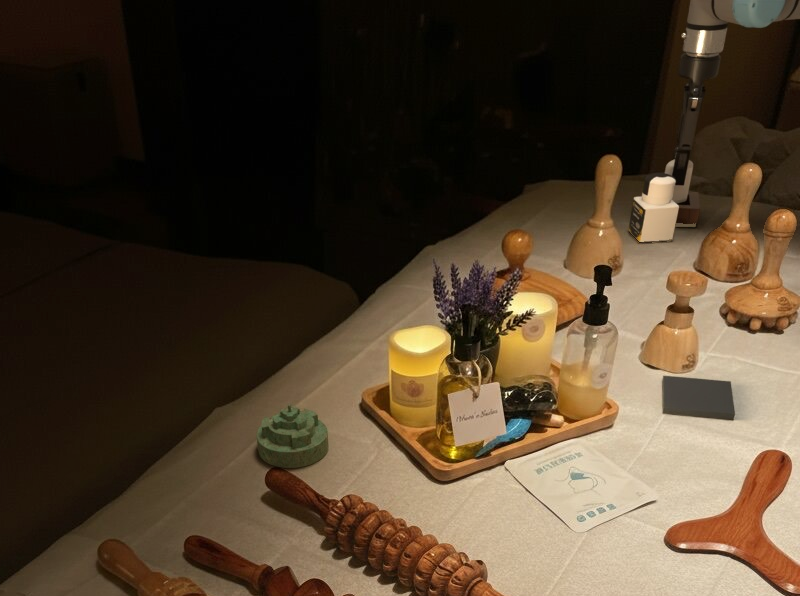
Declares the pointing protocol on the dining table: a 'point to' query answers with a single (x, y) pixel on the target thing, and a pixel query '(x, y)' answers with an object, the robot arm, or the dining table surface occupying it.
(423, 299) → the dining table surface
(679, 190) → the eye dropper bottle
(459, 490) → the dining table surface
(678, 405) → the coaster
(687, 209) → the holder
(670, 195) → the medicine bottle
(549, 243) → the dining table surface
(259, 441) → the decorative artifact
